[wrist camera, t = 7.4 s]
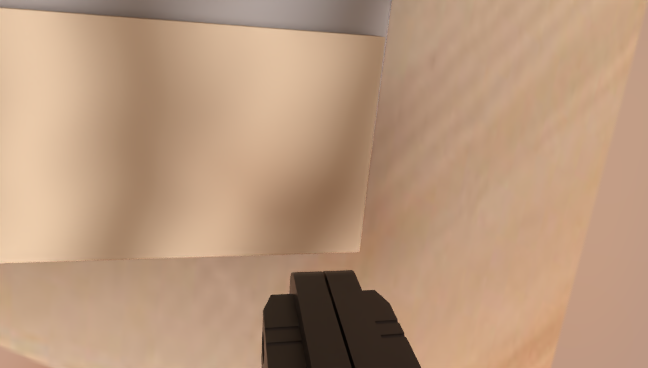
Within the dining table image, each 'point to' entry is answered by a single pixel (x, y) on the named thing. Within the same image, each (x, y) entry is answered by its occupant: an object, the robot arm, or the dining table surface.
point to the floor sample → (240, 13)
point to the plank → (181, 138)
